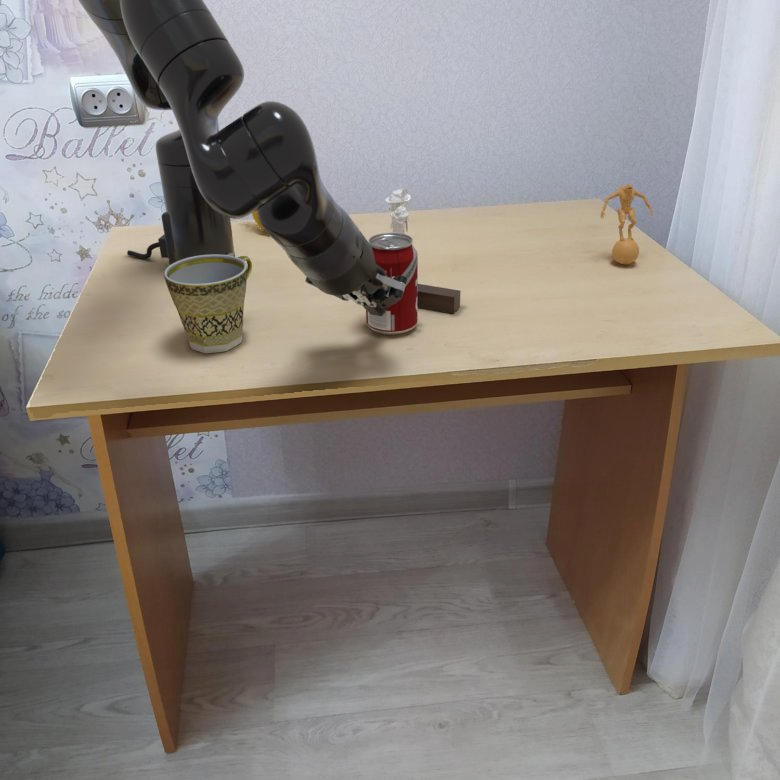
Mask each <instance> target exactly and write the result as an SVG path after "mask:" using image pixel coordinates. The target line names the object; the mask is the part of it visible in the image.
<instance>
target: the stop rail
mask: <svg viewBox="0 0 780 780" xmlns="http://www.w3.org/2000/svg"><path fill="white" fill-rule="evenodd" d="M460 308H461V290H460V289H459V290H458V289H454V288H448V287H442V286H441V287H440V286H434V285H429V284H423V283H418V309H423V310H429V311H435V312H441V313H446V314H452V315H454V314H455V313H456V312H457V311H458V310H459V309H460Z"/></svg>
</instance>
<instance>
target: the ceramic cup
mask: <svg viewBox="0 0 780 780" xmlns="http://www.w3.org/2000/svg"><path fill="white" fill-rule="evenodd" d="M252 269H253V263H252V260H251V258H250V257H248V256H246V255H241V256H238V257H237V256H235V257H234V256H229V255H219V254H211V255H200V256H194V257H189V258H185V259H182V260H179V261H177V262H175V263H173V264H171V265H170V264H169V265H168V266H167V267H166V268H165V269H164V271H163V278H164V280H165V284H166V286H167V289H168V292H169V294H170V297H171V300H172V301H173V304H174V306H175V309H176V311H177V313H178V316H179V319H180V321H181V325H182V327H183V329H184V333H185V335H186V339H187V341H188V342H189V343H188V344H189V346H190V348H191V349H192V350H194V351H197V352H200V353H203V354H213V353H214V354H215V353H222V352H223V353H224V352H228V351H231V350H232V349H233V348H235V347H236V346H238V345H240V344H241V343H242V342H243V324H244V310H245V309H244V307H245V299H246V293H247V280H248V279H249V277H250V275H251V273H252Z"/></svg>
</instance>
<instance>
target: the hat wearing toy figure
mask: <svg viewBox="0 0 780 780" xmlns="http://www.w3.org/2000/svg"><path fill="white" fill-rule="evenodd" d="M411 199H412V197H411V194H410V193H408V189H407V188H403V187H401V188H399V189H395V190H393V191H392V192H391V193H390V194H389V195H388V196H387V197H386V198H385V202H386V203H387V204H388V210H389V211H390V212H391V213H390V217H391V224H390V228H389V229H390V230H392V233H401V234H405V232H406V234H408V232H409V222H410V217H409V216H410V212H408V208H409V205H410V203H409V201H411ZM406 234H405V235H406Z"/></svg>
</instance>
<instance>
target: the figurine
mask: <svg viewBox="0 0 780 780" xmlns="http://www.w3.org/2000/svg"><path fill="white" fill-rule="evenodd" d="M617 197H618V198H619V203H620V207H619V208H617V211H616V212H617V216H618V217H617V218H618V221H619V225H618V232H619V234H618V235H619V240H618V241H617V242H615V243H614V245H613V247H612V250H611V254H612V257H613V259H614V261H615V262H616V263H617V264H620V265H623V266H625V265H630V264H633V263H634V262H635V261H636V260H637V259H638V257H639V254H640V247H639V244H638V243H637V242H636V241H635V239H634V238H633V235H632V229H633V228H634V227H635V225H636V224H637V218H636V214H635V211H636V209H635V207H634V206H632V203H633V201H634V198H635V197H638V198H641V199H642V200H643V202H644V203H645V205H646V207H647V208H648V210H649V213H650V215H651V217H653V216H654V214H653V208H652V206H651V204H650V202H649V200H648V199H647V197H646V194H645V195H644V194H643V193H642V192H640V191H638V190H636V189H635V188H633V183H632V184H631V183H628V184H627V185H626V184H625V185H621V186H620V187H619V188H618V190H615V191H614V192H613V193H611V194H610V195H609V194H608V196H606V198H604V203H603V205H602V209H601V212H600V217H602V220H603V219H605V216H606V213H605V211H606V209H607V205H608V204H609V201H610V200H612V199H614V198H617ZM631 206H632V207H631ZM626 219H628V221H630V222H631V223H629V224H628V228H627V234H628V235H627V236H628V237H627V238H625V237H624V234H623V233H624V232H623V229H624V226H625V223H626Z"/></svg>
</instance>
